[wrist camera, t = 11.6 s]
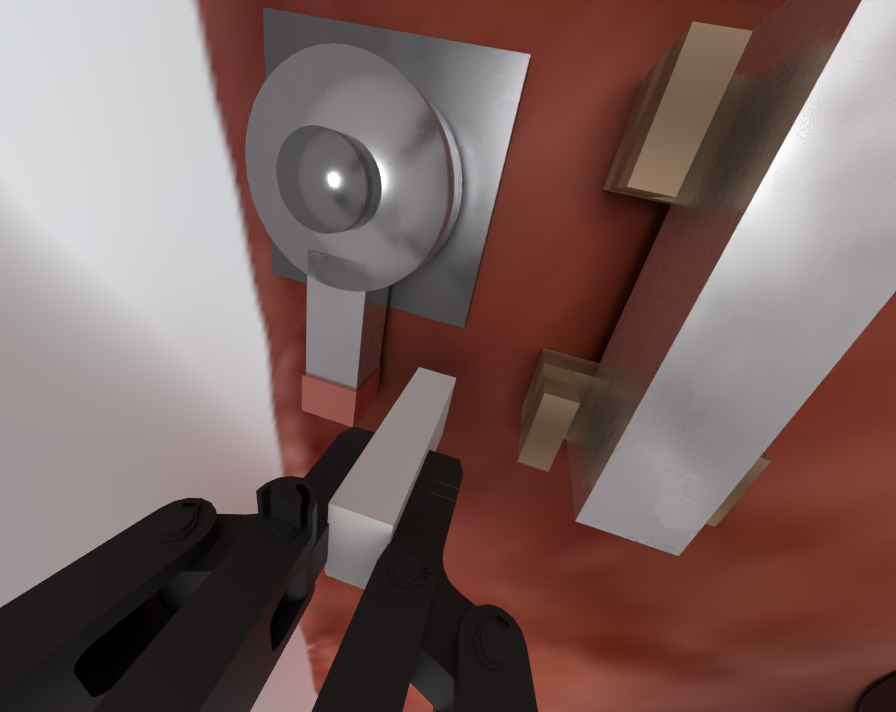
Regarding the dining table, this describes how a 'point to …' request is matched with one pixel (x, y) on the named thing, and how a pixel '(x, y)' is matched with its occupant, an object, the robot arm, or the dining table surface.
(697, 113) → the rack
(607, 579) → the dining table surface
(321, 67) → the silver lever handle
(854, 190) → the steel bar
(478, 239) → the base
